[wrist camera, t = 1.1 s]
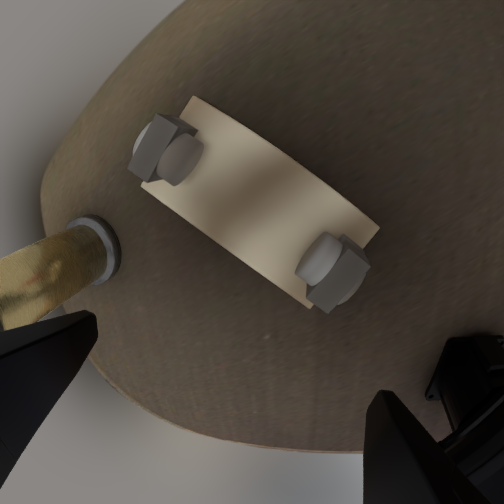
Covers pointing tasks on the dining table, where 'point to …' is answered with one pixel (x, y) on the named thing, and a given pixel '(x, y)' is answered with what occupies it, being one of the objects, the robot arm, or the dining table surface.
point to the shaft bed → (255, 203)
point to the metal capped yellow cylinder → (56, 270)
